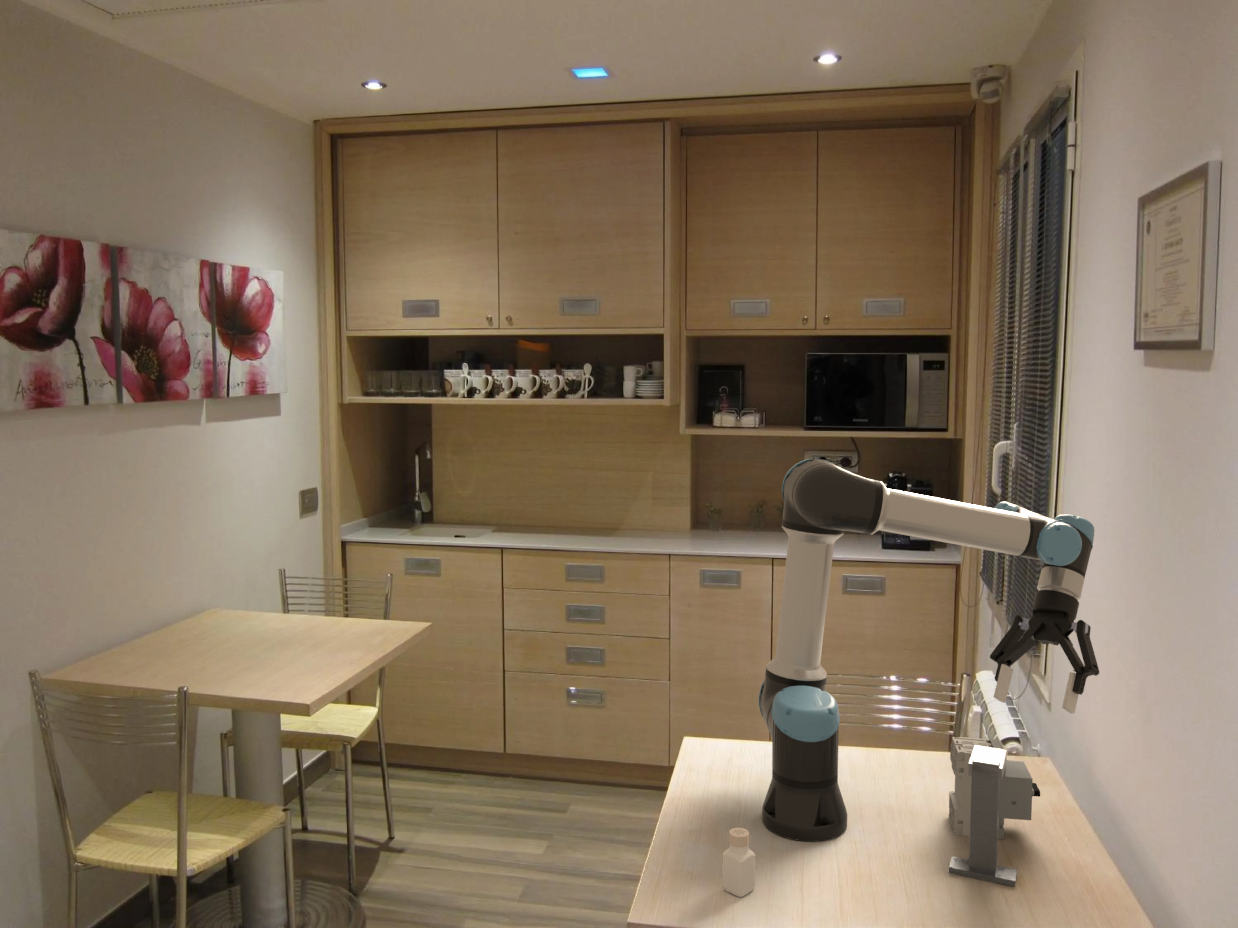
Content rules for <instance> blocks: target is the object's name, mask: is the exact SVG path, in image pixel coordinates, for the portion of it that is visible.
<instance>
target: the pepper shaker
mask: <svg viewBox="0 0 1238 928" xmlns="http://www.w3.org/2000/svg"><path fill="white" fill-rule="evenodd" d="M749 845H750V831H749V830H747V828H743V827H733V828H730V830H729V831H728V846H729V847H728V848H727V849H725V850H724V851H723V852H722V889H723V890H724V891H726V892H728V893H730V894H733V895H734V896H736V897H739V898H742V897H744V896H746V895H748V894H749V893H750V892H752V891H754V890H755V889H756V853H755V852H754V851H752V850H751V848H749V847H750V846H749Z"/></svg>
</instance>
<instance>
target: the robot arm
mask: <svg viewBox="0 0 1238 928" xmlns="http://www.w3.org/2000/svg"><path fill="white" fill-rule="evenodd" d="M781 493H782V494H781V496H782V500H783V501H784V503H783V512H782V520H781V521H782V522H781V528H782V529H783V531H784V532H785V533H786V534H787V536H788V538H787V539H788V543H787V548H786V549H787V550H786V556H785V557H786V558H785V559H786V560H785V565H784V566H785V567H784V577H783V585H782V594H781V601H780V602H781V604H780V611H779V612H780V613H779V622H778V630H777V639H776V648H775V657H774V658H773V659H771V660H769V662H767V663H766V665H765V666H766V667H765V674H764V680H763V682H762V683H761V686H760V689H759V693H758V707H759V711H760V714H761V717H762V718H763V720H764V722H765V724H766V726H767V729H768V731H769V734H770V737H771V742H772V745H771V746H772V751H771V752H772V754H771V755H772V756H771V757H772V758H771V759H772V760H771V761H772V762H771V763H772V764H771V765H772V766H771V768H772V769H771V770H772V774H771V780H770V784H769V786H768V789H767V792H766V794H765V798H764V801H763V803H762V808H761V809H762V810H761V820H762V823H763V825H764V827H766V828H767V829H768V830H769V831H770V832H772V833H774V834H776V835H779V836H780V837H784V838H786V839H790V840H796V841H802V842H804V841H805V842H820V841H829V840H831V839H836V838H837V837H839V836H841V835H842V834H844V833H845V832H846V830H847V827H848V811H847V808H846V805H845V802H844V799H843V796H842V795H843V794H842V792H841V789H840V786H839V782H838V780H839V779H838V777H839V774H838V773H839V732H840V731H839V730H840V729H839V725H840V719H841V718H840V712H839V705H838V702H837V699H836V698H835V697H834V696H833V695H832V694H830V693H829V692H828V691H826V687H827V676H828V673H827V671H826V669H825V668H824V667H823V666H822V664H821V659H822V651H823V650H822V649H823V642H824V641H823V640H824V633H825V624H826V615H827V607H828V599H829V591H830V582H831V574H832V573H831V572H832V564H833V557H834V547H835V542H837V540H839V539H840V538H841V537H843V536H844V533H845V532H853V533H860V534H865V535H871V536H872V535H874V534H876V532H878V531H881V532H887V533H892V534H897V535H901V536H902V535H904V536H908V537H914V538H920V539H924V540H931V541H935V542H940V543H941V542H942V543H947V544H953V545H958V546H962V547H969V548H975V549H980V550H984V551H990V552H995V553H1001V554H1007V555H1012V556H1018V557H1021V558H1026V559H1032V560H1036V561H1042V566H1041V571H1040V574H1039V579H1038V582H1037V587H1036V588H1037V590H1038V591H1037V592H1035V596H1034V600H1033V604H1032V616H1031V617H1030V618H1024V617H1022V616H1021V615H1020V614H1018V615H1016V616H1015V618H1014V619H1013V623H1012V625H1011V626H1010V628H1009V629H1008V631H1007V632H1006V633H1005V634H1004V636H1003V638H1002V639H1001V640H1000V642H999V643H998V644H997V646H995V648H994V649H993V651H992V652H991V653H990V655H989V659H991V660H992V661H994V662H995V663H997V668H996V671H995V675H994V681H995V682H996V684H995V685H996V686H995V688H994V689H995V690H994V694H993V698H994V699H996V700H997V701H999V702H1000V703H1006V701H1007V697H1008V694H1009V690H1010V685H1011V681H1012V676H1013V673H1014V669H1013V668H1012V667H1011V666H1013V665H1014V664H1015V663H1016V662H1018V661H1019V659H1021V658H1022V657H1023V656H1024V655H1025V654H1026V653H1028V652H1029V650H1030V651H1031V649H1032V648H1033V647H1036V646H1038V645H1039V644H1042V645H1053V646H1060V647H1061V650H1063V653H1064V654H1065V656H1066V658H1067V660H1068V661H1069V663H1070V665H1071V667H1072V668H1073V672H1069V673H1068V674H1069V675H1068V679H1067V684H1066V689H1065V693H1064V698H1063V702H1062V707H1061V708H1062V709H1063V710H1065V711H1066V712H1068V713H1069V714H1075V712H1076V708H1077V703H1078V699H1079V695H1080V696H1081V695H1083V693H1084V691H1085V686H1086V682H1087V678H1088V677H1090V676H1095V677H1097V676H1098V675H1099V674H1100V669H1099V666H1098V661H1097V658H1096V655H1095V650H1094V648H1093V643H1092V641H1091V637H1090V635H1091V629H1092V628H1091V627H1092V626H1091V625H1090V624H1088V623H1087V622H1086V621H1084V620H1083V619H1078V621H1077V622H1075V620H1076V618H1077V615H1078V611H1079V606H1080V602H1079V600H1080V599H1081V596H1082V592H1083V588H1084V582H1085V577H1086V573H1087V570H1088V565H1089V563H1090V562H1089V561H1090V558H1091V557H1090V556H1091V554H1092V553H1091V552H1092V550H1093V547H1094V546H1093V545H1094V540H1095V527H1094V525H1093V523H1092V522H1091V521H1090V520H1088V519H1086V518H1084V517H1082V516H1079V515H1078V516H1075V515H1073V514H1067V513H1066V514H1065V513H1064V514H1059V515H1057V516H1055V517H1054V518H1050V517H1049V516H1046V515H1042V514H1040V513H1037V512H1034V511H1031V510H1029V509H1026V508H1024V507H1022V506H1020V505H1018V504H1014V503H1011V502H1008V501H1000V502H998V503H997V504H996V505H995V506H994V507H988V506H983V505H978V504H971V503H967V502H961V501H957V500H951V499H946V498H941V497H937V496H930V495H926V494H925V495H924V494H919V493H914V492H909V491H905V490H904V491H903V490H900V489H892V488H887V487H886V484H885V483H884V482H883V481H882V480H876V479H871V478H866V477H864V476H861V475H859V474H856V473H854V472H851V471H849V470H846V469H844V468H842V467H841V466H838V465H836V464H835V463H833V462H832V461H829V460H826V459H821V458H807V459H803V460H801V461H798V462H797V463H795V464H794V465H793V466H792V467H790V468H789V469H788V470H787V472H786V473H785V476H784V478H783V480H782V486H781ZM1073 632H1074V633H1075V634H1076V638H1077V642H1078V646H1079V649H1080V653H1081V657H1082V660H1083V661H1082V660H1081V658H1080V656H1079V654H1078V652H1077V651H1076V649H1075V647H1074V644H1073V642H1072V640H1071V639H1070V635H1071V634H1072V633H1073Z"/></svg>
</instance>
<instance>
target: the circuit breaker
mask: <svg viewBox="0 0 1238 928" xmlns="http://www.w3.org/2000/svg"><path fill="white" fill-rule="evenodd" d="M951 740H952V741H951V744H950V757H949V758H950V759H949V760H950V763H951V770H952V773H953V775H954V790H949V795H948V796H949V797H948V798H949V799H948V809H949V810H948V819H949V821H950V825H951V829H952V831H953V836H958V835H962V836H965V837H970V818H971V782H972V776H969V775H968V771H969V761H970V758H971V755H972V752H973V749H974V746H975V745H978V746H985V747H991V748H998V749H1003V747H1002V744H1001V742H1000V741H999V739H998V738H996V739H995V738H979V737H964V736H958V737H955V736H952V737H951ZM1033 797H1041V790H1040V788H1039V787H1038V784H1037V783H1036V782H1034V781H1033V776H1032V775H1031V773H1030V771H1029V769H1028V767H1027V766H1026V763H1025V762H1024V761H1021V760H1010V759H1009V760H1008V759H1006V765H1005V769H1004V774H1003V778H1002V781H1000V793H999V825H998V840H999V839H1001V840H1004V834H1005V833H1004V831H1005V828H1004V825H1005V819H1006V820H1007V819H1008V820H1021V821H1022V820H1023V821H1032V814H1033V813H1032V811H1033V810H1032V808H1033V804H1032V803H1033Z"/></svg>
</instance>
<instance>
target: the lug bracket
mask: <svg viewBox="0 0 1238 928" xmlns="http://www.w3.org/2000/svg"><path fill="white" fill-rule="evenodd" d="M1007 751H1008V750H1007V749H1003V748H1002V749H998V748H991V747H985V746H978V745H975V746H974V749H973V752H972V755H971V758H970V761H969V771H968V775H969V776H972V782H971V818H970V836H969V854H968V855H969V856H968V858H969V859H968V858H965V857H959V856H954V855H951V859H950V862H949V865H948V873H949V874H952V875H957V876H961V877H966V878H972V879H975V880H980V881H985V882H988V883H989V882H990V883H995V884H999V885H1002V886H1003V885H1005V886H1008V887H1009V886H1010V887H1014V888H1015V887H1016V883H1017V877H1018V869H1017V868H1013V867H1008V866H1004V865H998V859H999V858H998V857H999V855H998V850H999V848H998V847H999V839H998V825H999V793H1000V781H1002V778H1003V774H1004V769H1005V765H1006V760H1008V759H1007Z"/></svg>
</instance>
